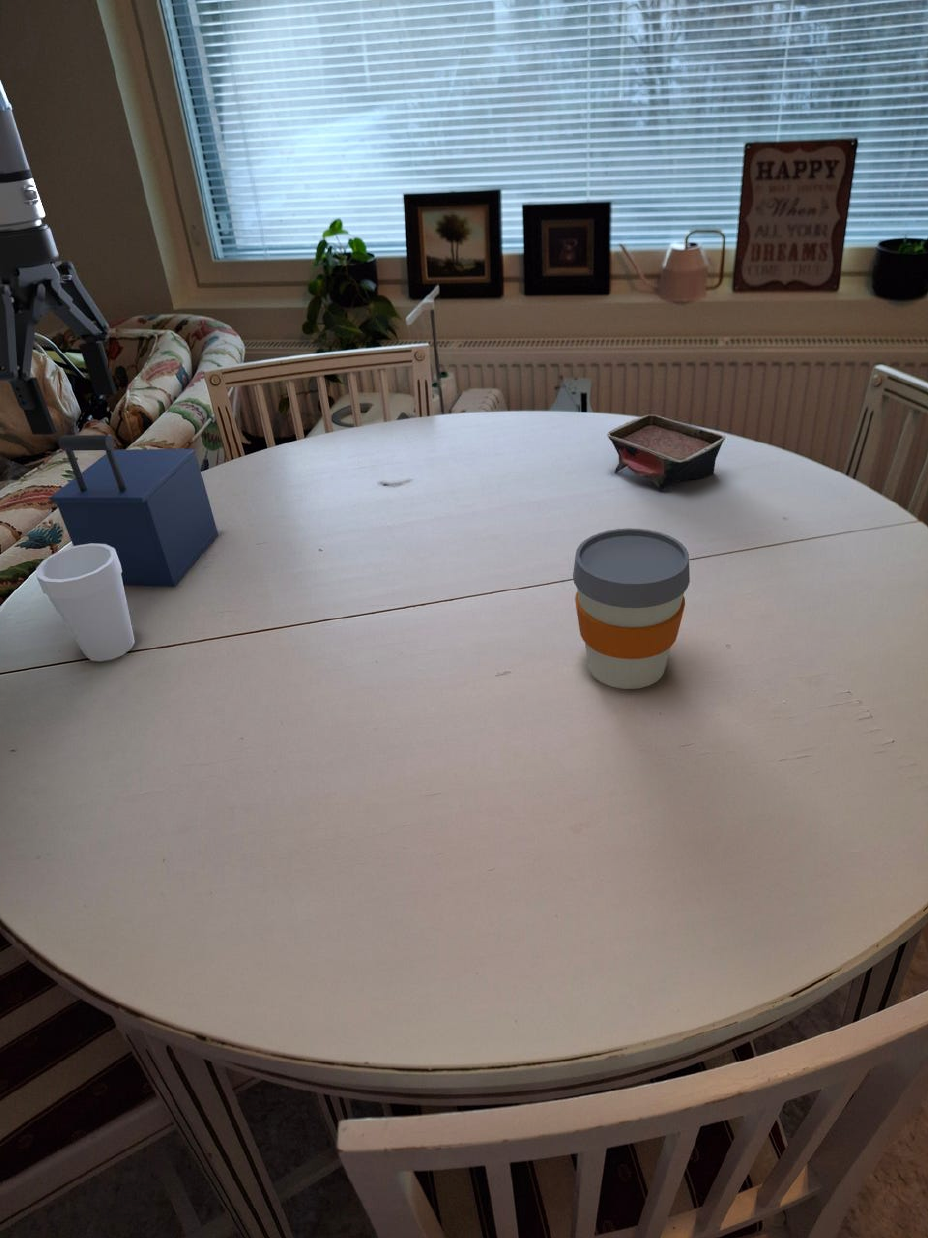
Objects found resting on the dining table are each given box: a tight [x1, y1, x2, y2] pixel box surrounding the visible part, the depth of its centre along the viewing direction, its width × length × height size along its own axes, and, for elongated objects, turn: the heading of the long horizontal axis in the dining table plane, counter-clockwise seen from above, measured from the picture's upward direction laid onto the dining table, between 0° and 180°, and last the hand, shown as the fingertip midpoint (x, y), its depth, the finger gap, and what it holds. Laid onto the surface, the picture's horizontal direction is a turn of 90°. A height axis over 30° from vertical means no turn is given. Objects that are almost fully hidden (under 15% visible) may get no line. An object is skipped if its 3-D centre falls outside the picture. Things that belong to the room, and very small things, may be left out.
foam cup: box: [35, 543, 136, 662], centre depth 102 cm, size 10×9×13 cm
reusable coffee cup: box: [572, 527, 691, 690], centre depth 90 cm, size 13×13×15 cm
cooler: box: [55, 453, 219, 587], centre depth 122 cm, size 16×14×14 cm
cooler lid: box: [49, 434, 197, 504], centre depth 115 cm, size 17×14×9 cm
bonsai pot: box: [606, 413, 726, 491], centre depth 135 cm, size 14×18×10 cm
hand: (77, 412), depth 100 cm, fingers open, 13 cm apart
